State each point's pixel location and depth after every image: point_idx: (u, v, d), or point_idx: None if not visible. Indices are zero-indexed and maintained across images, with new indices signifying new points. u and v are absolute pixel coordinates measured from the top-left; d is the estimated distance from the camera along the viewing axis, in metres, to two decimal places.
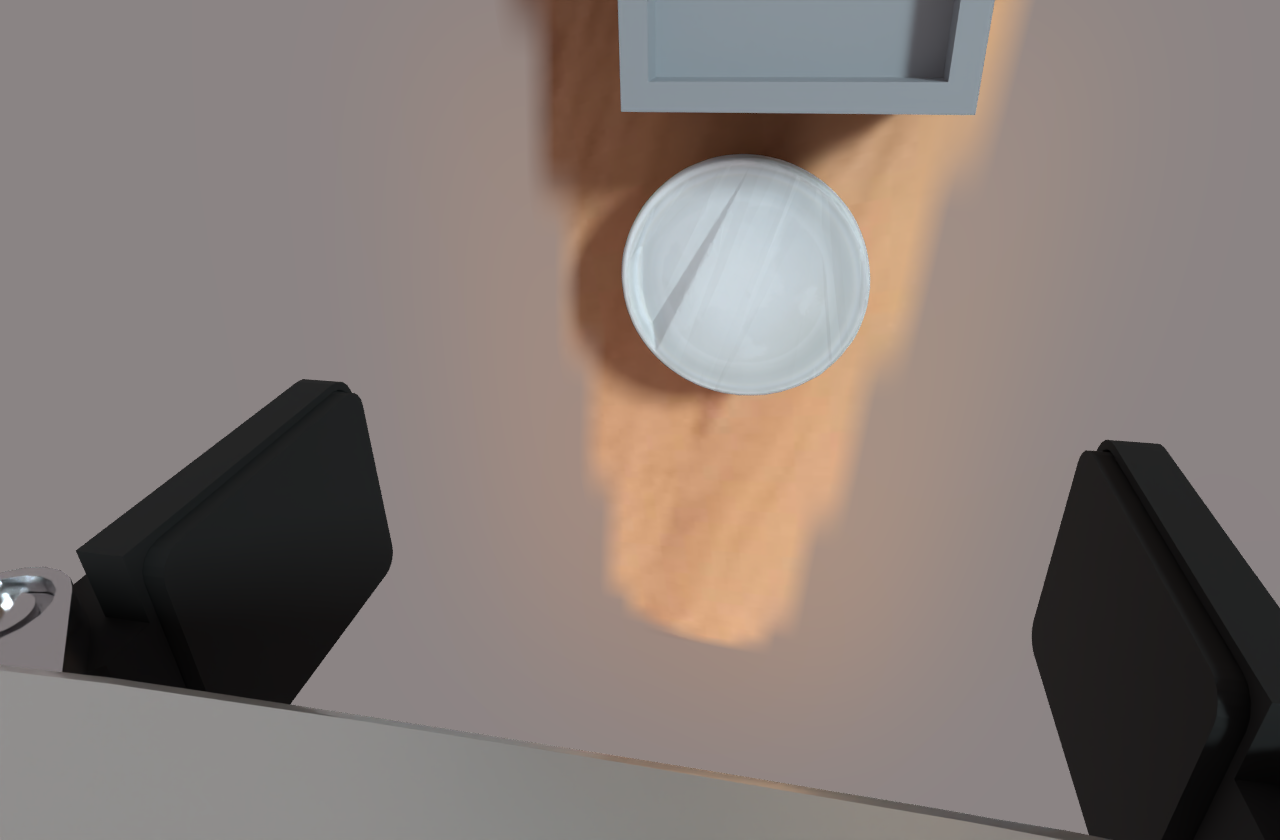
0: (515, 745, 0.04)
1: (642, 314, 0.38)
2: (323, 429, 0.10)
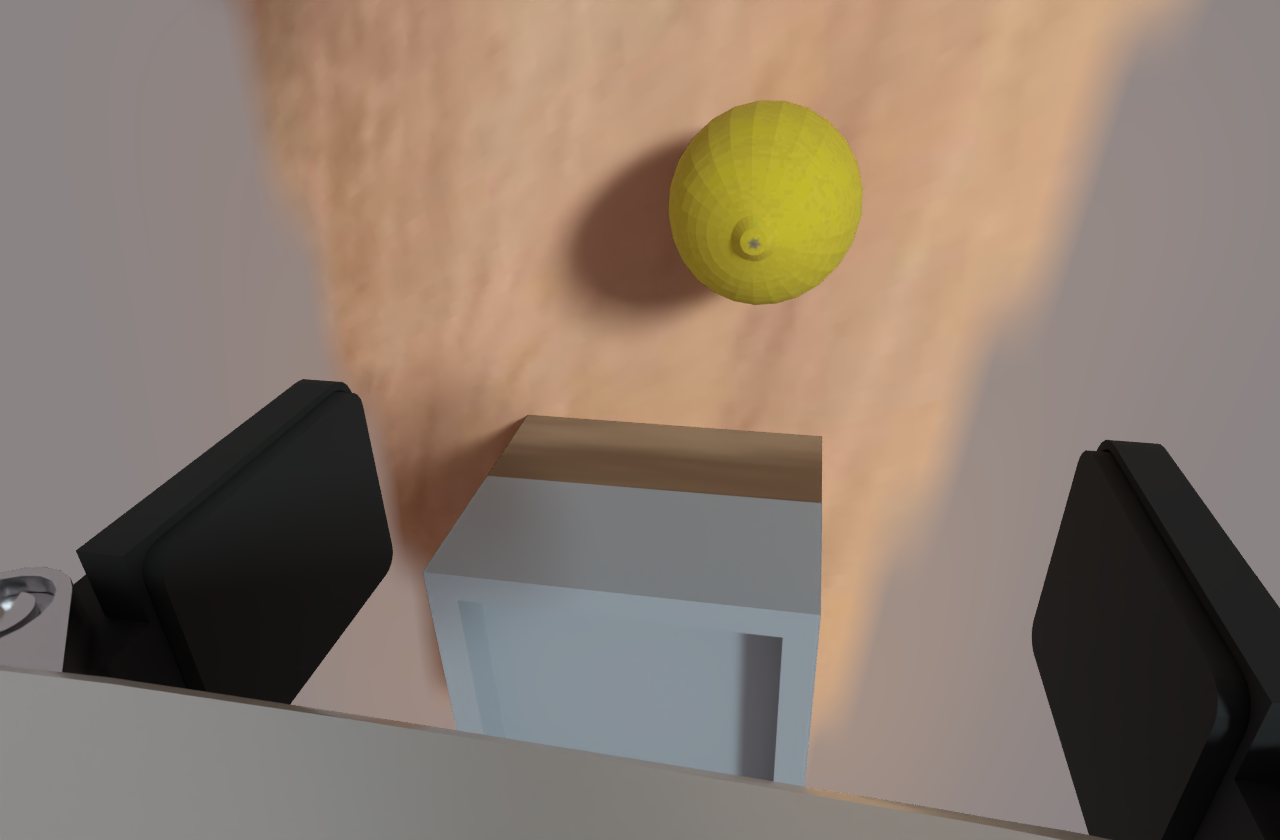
0: (515, 745, 0.04)
1: None
2: (323, 429, 0.10)
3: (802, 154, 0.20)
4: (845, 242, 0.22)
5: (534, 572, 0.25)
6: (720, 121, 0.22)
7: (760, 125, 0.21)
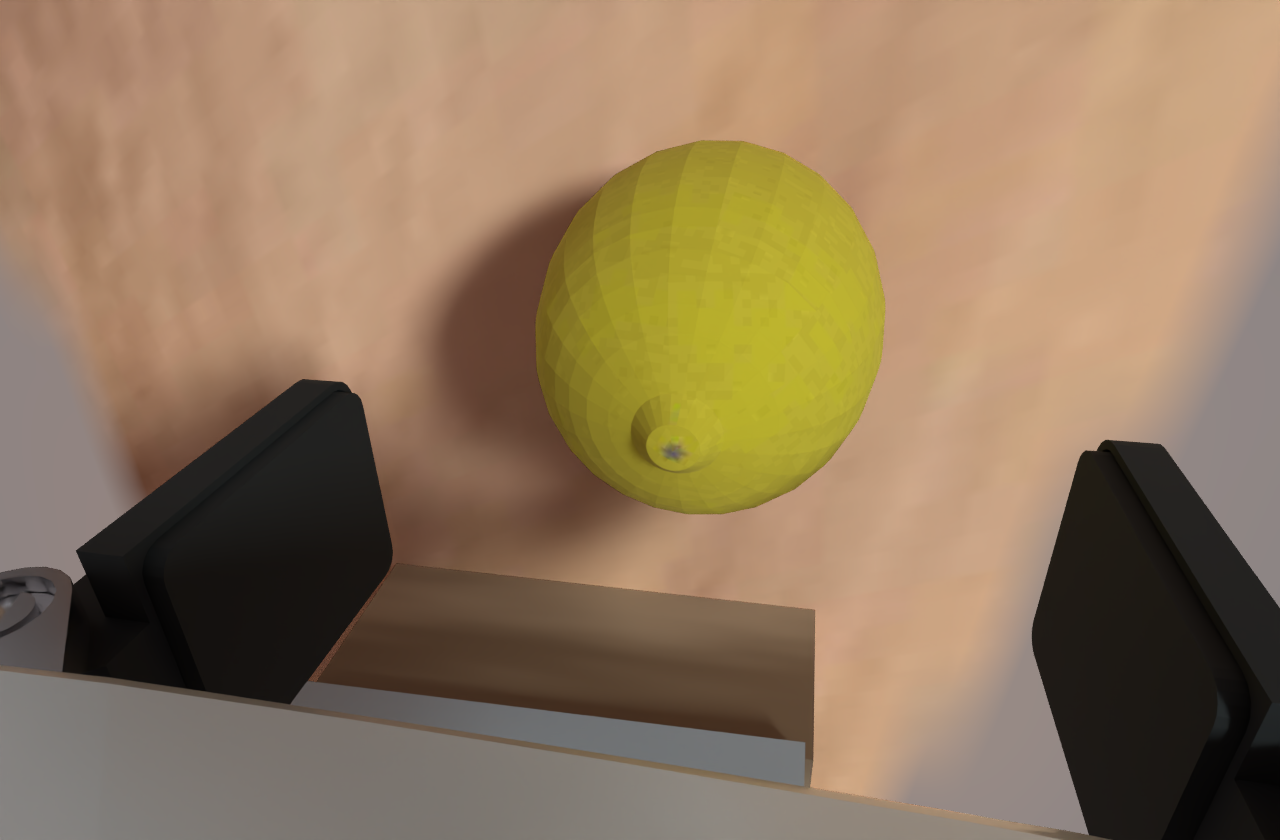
0: (515, 745, 0.04)
1: None
2: (323, 429, 0.10)
3: (771, 267, 0.10)
4: (855, 417, 0.12)
5: None
6: (620, 187, 0.12)
7: (690, 205, 0.11)
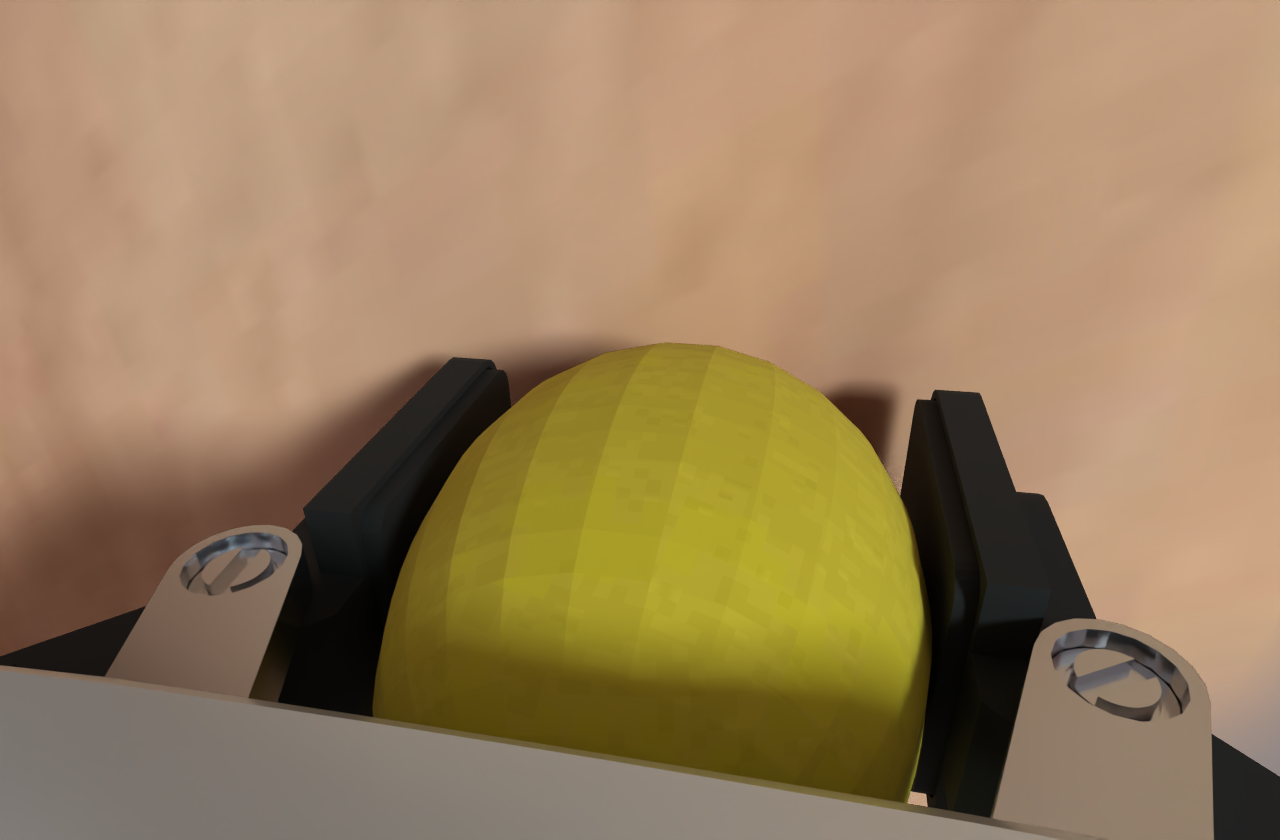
0: (514, 745, 0.04)
1: None
2: (483, 403, 0.10)
3: (746, 661, 0.06)
4: None
5: None
6: (511, 452, 0.07)
7: (608, 525, 0.06)
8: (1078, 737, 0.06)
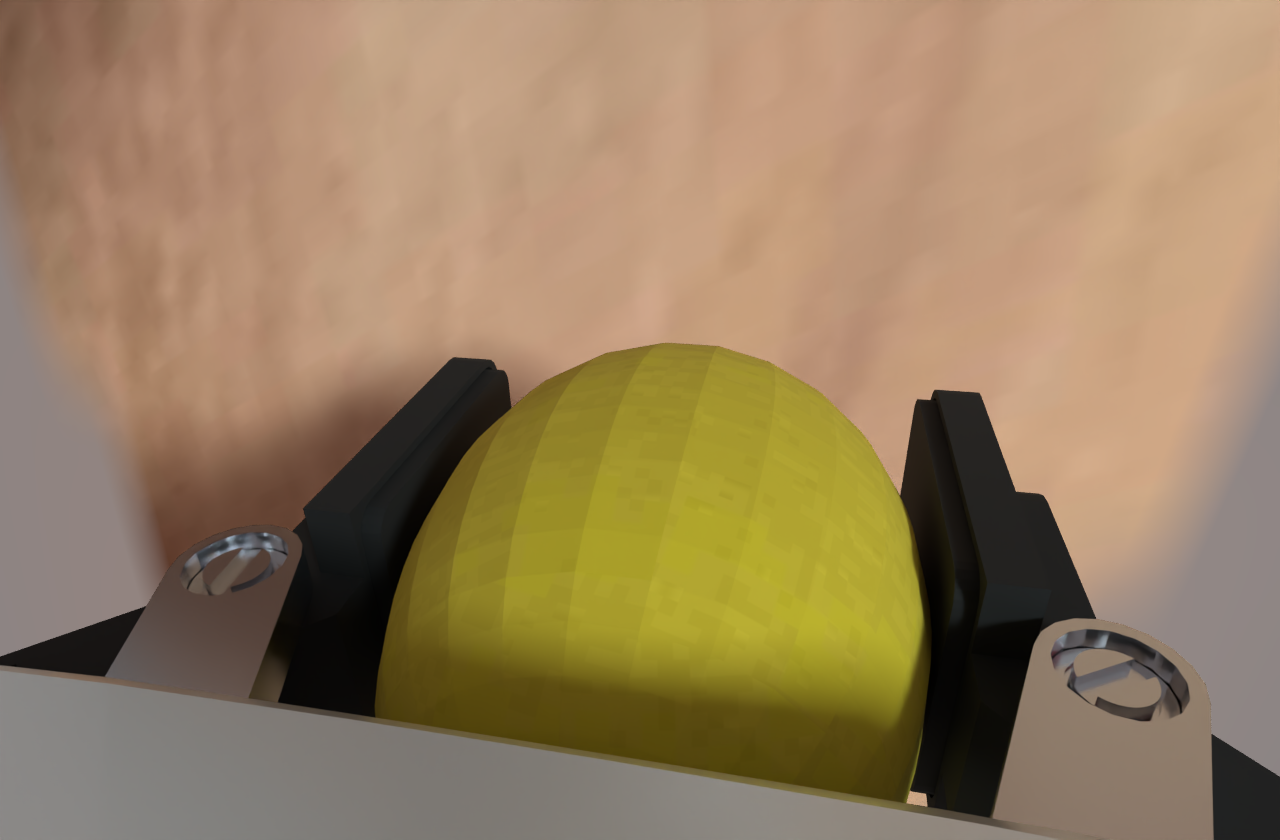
0: (515, 745, 0.04)
1: None
2: (483, 403, 0.10)
3: (746, 660, 0.06)
4: None
5: None
6: (512, 452, 0.07)
7: (608, 525, 0.06)
8: (1078, 737, 0.06)
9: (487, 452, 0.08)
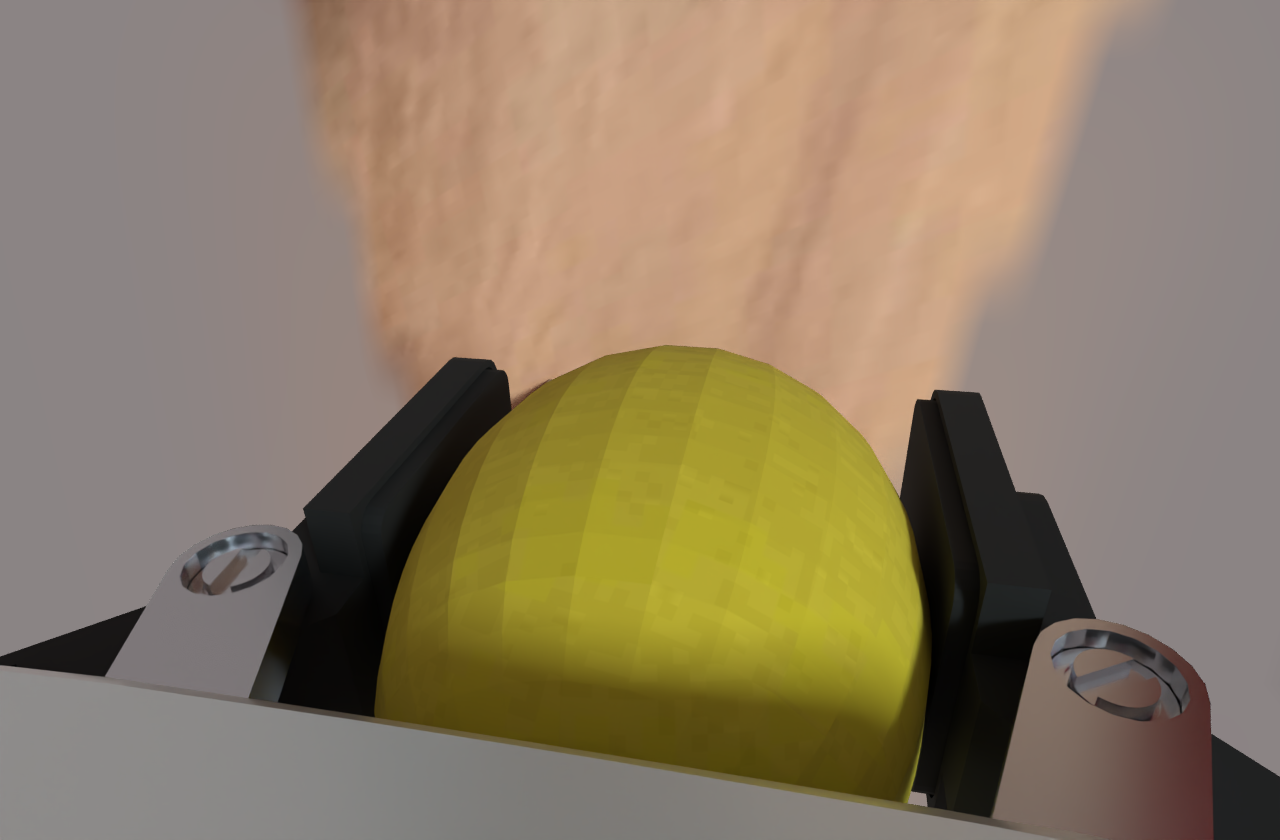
0: (515, 745, 0.04)
1: None
2: (483, 403, 0.10)
3: (746, 664, 0.06)
4: None
5: None
6: (512, 455, 0.07)
7: (608, 529, 0.06)
8: (1077, 737, 0.06)
9: (487, 455, 0.08)
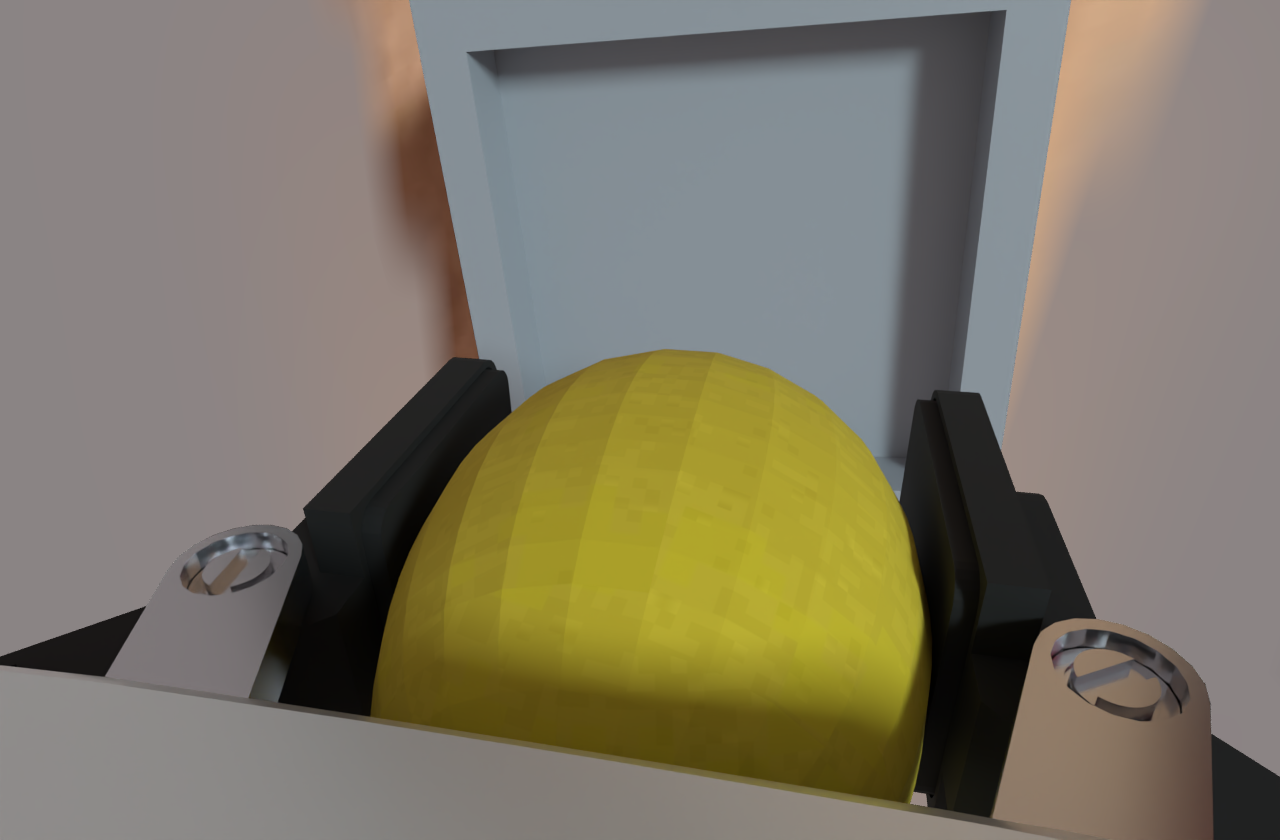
0: (515, 745, 0.04)
1: None
2: (483, 403, 0.10)
3: (745, 674, 0.06)
4: None
5: None
6: (509, 461, 0.07)
7: (607, 536, 0.06)
8: (1078, 737, 0.06)
9: (484, 460, 0.08)
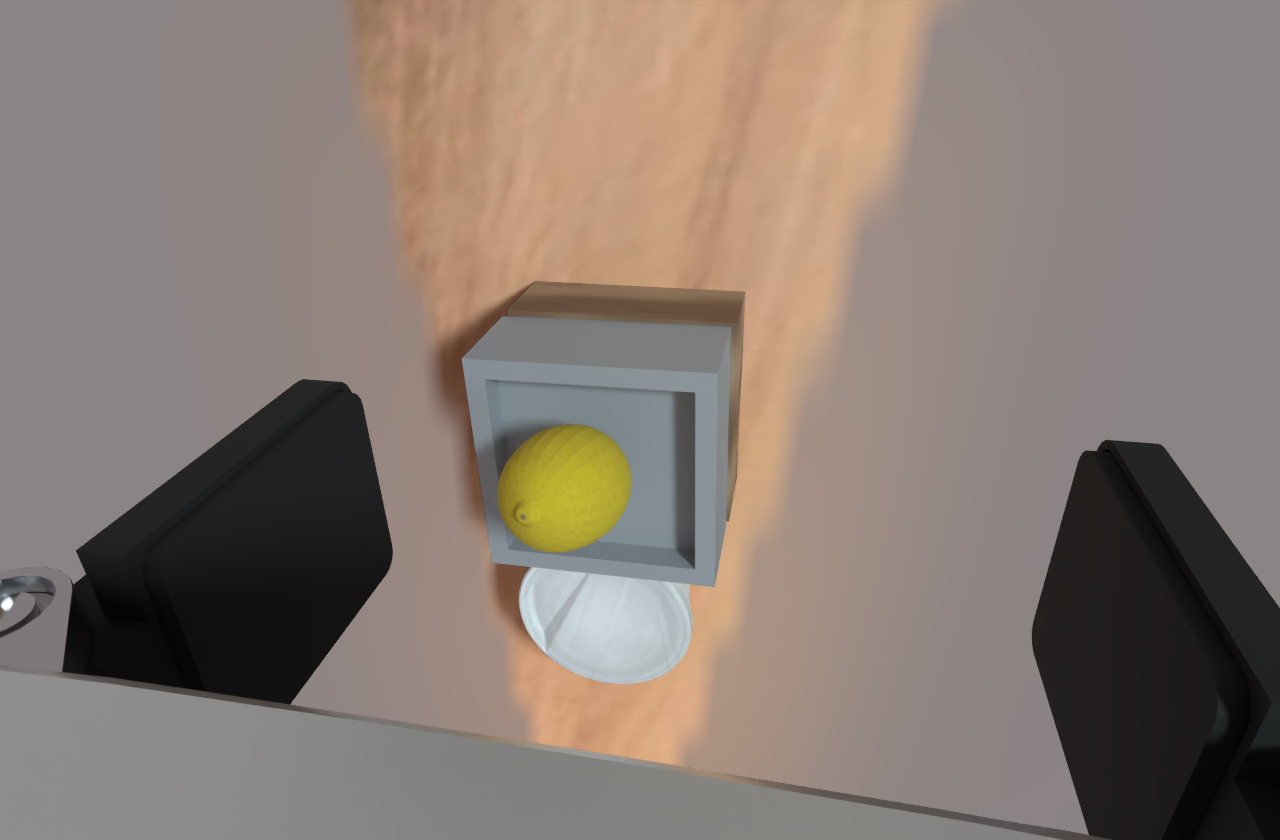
0: (515, 745, 0.04)
1: (536, 626, 0.53)
2: (323, 429, 0.10)
3: (557, 462, 0.33)
4: (596, 513, 0.34)
5: (535, 358, 0.37)
6: (527, 440, 0.36)
7: (539, 445, 0.34)
8: None
9: None
